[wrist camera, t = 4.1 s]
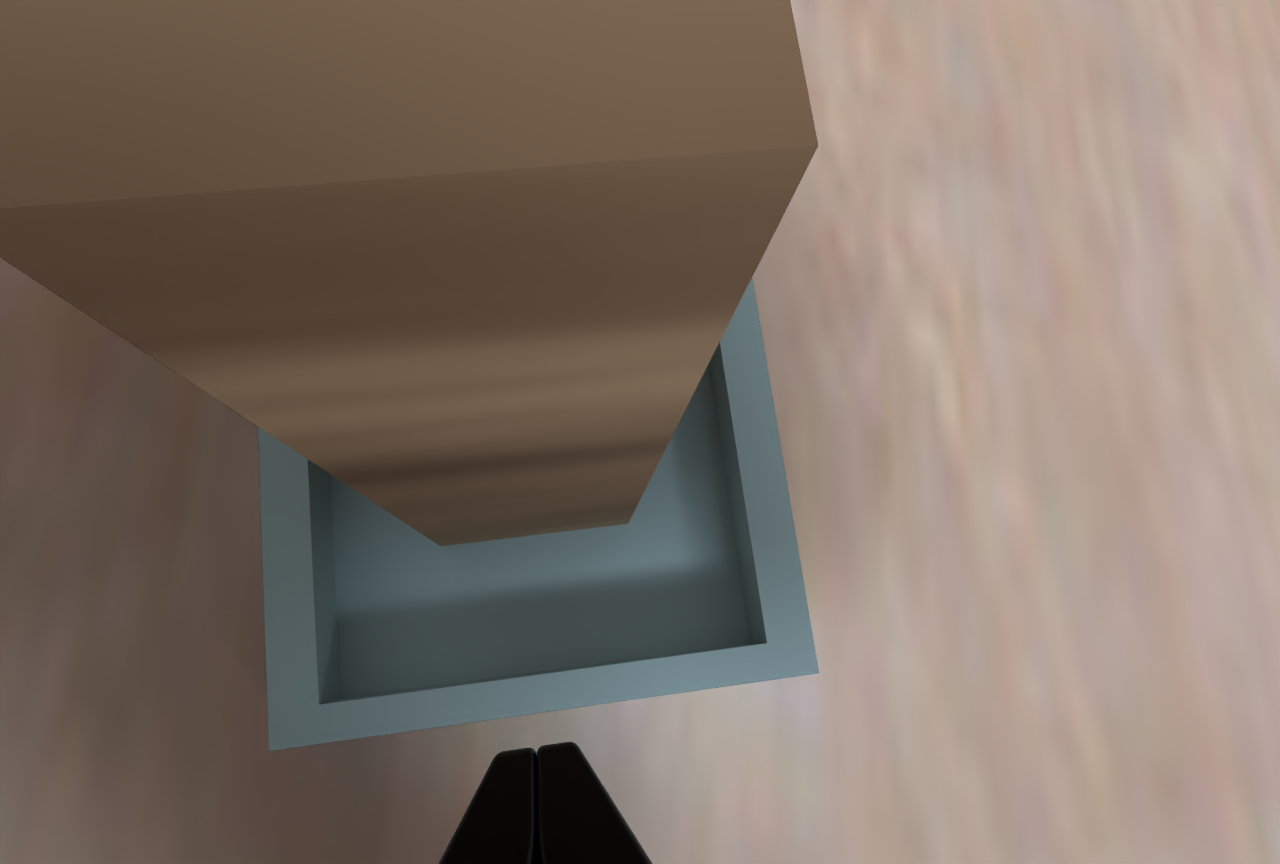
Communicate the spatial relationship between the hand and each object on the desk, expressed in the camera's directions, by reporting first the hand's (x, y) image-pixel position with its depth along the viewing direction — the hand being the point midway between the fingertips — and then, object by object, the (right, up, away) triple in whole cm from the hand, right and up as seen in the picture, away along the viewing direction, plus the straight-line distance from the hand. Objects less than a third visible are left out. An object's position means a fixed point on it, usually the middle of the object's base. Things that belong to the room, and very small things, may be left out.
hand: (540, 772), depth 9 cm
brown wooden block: (-2, +6, +8) cm, 11 cm away
